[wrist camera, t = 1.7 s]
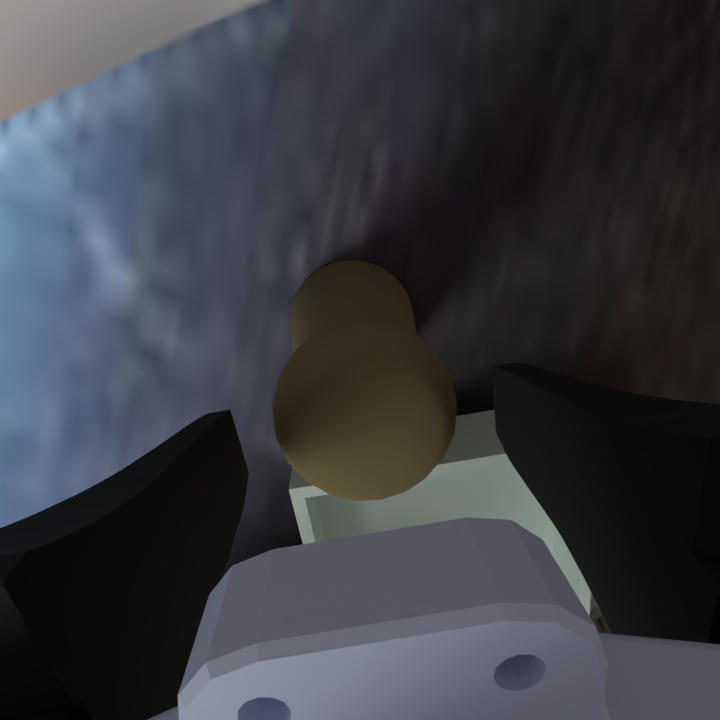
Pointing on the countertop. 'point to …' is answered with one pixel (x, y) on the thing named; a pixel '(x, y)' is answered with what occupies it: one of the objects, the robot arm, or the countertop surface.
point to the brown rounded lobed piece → (361, 387)
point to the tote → (442, 498)
